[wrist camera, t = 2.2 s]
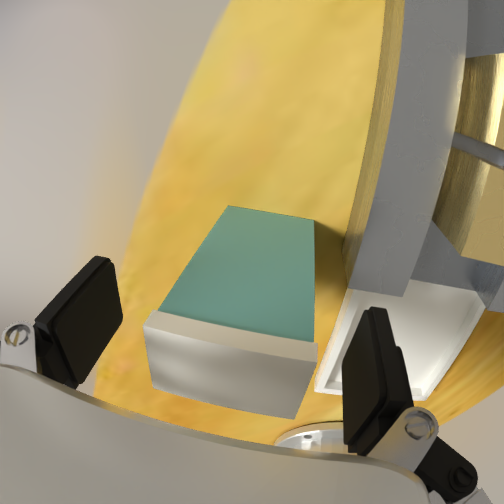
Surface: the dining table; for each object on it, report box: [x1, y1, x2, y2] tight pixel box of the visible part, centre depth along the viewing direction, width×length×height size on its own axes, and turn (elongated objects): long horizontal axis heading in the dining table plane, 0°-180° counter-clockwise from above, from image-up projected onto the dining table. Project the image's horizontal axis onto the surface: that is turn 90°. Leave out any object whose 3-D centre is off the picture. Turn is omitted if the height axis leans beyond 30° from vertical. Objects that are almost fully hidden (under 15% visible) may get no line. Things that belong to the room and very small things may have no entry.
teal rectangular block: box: [143, 206, 318, 419], centre depth 14 cm, size 3×5×11 cm, turn 84°
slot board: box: [342, 0, 504, 313], centre depth 12 cm, size 18×12×4 cm, turn 174°
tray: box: [314, 279, 486, 401], centre depth 20 cm, size 11×10×2 cm
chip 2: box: [431, 147, 504, 266], centre depth 12 cm, size 4×4×4 cm
